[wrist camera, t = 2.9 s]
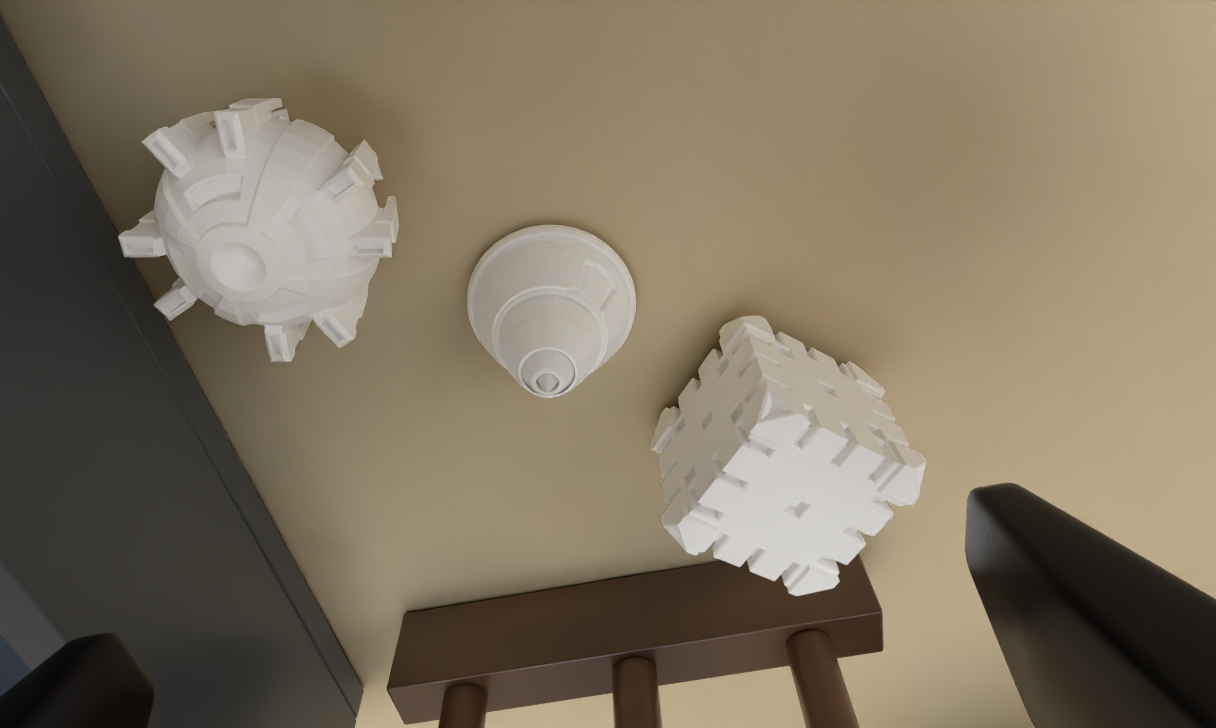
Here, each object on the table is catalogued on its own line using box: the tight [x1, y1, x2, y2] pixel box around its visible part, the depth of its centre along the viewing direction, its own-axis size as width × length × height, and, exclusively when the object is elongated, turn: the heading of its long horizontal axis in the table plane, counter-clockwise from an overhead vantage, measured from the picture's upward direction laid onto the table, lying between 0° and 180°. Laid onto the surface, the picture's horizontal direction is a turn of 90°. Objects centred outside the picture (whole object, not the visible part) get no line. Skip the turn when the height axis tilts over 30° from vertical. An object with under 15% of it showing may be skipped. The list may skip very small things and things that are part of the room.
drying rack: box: [387, 553, 883, 728], centre depth 12 cm, size 10×16×6 cm, turn 11°
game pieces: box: [118, 98, 926, 596], centre depth 13 cm, size 12×3×3 cm, turn 61°
